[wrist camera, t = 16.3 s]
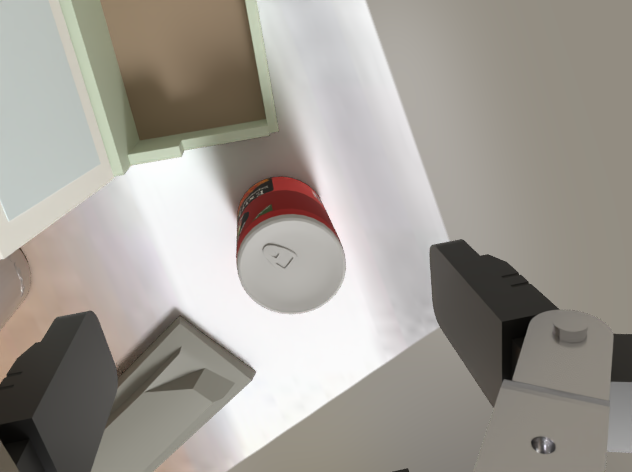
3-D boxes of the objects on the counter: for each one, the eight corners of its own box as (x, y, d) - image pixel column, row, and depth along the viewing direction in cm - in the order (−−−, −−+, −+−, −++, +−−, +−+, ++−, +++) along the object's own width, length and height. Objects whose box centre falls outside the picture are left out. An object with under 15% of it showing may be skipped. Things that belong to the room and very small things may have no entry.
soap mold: (257, 368, 53) (259, 390, 50) (132, 483, 57) (126, 511, 54) (179, 311, 50) (175, 331, 46) (51, 438, 53) (39, 465, 50)
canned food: (253, 161, 44) (257, 202, 34) (337, 190, 47) (364, 237, 36) (225, 239, 47) (221, 299, 37) (306, 263, 49) (324, 326, 39)
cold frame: (133, 150, 43) (112, 176, 35) (69, -71, 36) (27, -95, 29) (276, 125, 44) (284, 146, 36) (238, -95, 37) (238, -123, 30)
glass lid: (115, 178, 35) (105, 179, 35) (29, -98, 28) (17, -96, 28) (5, 258, 24) (-9, 260, 24) (-176, -161, 18) (-193, -157, 18)
